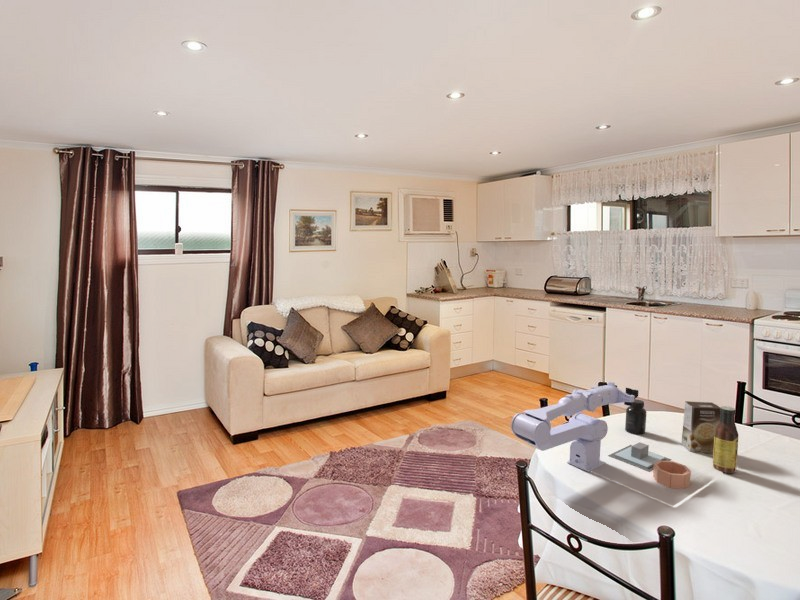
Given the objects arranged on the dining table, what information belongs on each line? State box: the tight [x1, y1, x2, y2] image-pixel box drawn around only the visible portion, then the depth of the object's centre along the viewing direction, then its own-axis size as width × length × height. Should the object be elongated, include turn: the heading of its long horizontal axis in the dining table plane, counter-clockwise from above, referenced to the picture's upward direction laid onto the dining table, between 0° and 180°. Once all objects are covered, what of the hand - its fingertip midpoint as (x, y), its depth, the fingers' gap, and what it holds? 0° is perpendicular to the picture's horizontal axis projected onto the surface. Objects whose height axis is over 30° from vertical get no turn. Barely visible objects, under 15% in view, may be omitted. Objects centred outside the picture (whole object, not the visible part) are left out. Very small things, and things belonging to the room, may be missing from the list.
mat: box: [607, 444, 673, 473], centre depth 163 cm, size 14×14×1 cm
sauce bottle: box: [712, 405, 739, 474], centre depth 154 cm, size 6×6×20 cm
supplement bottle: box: [624, 398, 647, 436], centre depth 184 cm, size 7×7×12 cm
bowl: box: [652, 460, 692, 489], centre depth 148 cm, size 9×9×4 cm
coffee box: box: [680, 400, 721, 455], centre depth 168 cm, size 9×6×16 cm
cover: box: [614, 441, 666, 469], centre depth 163 cm, size 11×11×4 cm
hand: (626, 390), depth 168 cm, fingers open, 7 cm apart
